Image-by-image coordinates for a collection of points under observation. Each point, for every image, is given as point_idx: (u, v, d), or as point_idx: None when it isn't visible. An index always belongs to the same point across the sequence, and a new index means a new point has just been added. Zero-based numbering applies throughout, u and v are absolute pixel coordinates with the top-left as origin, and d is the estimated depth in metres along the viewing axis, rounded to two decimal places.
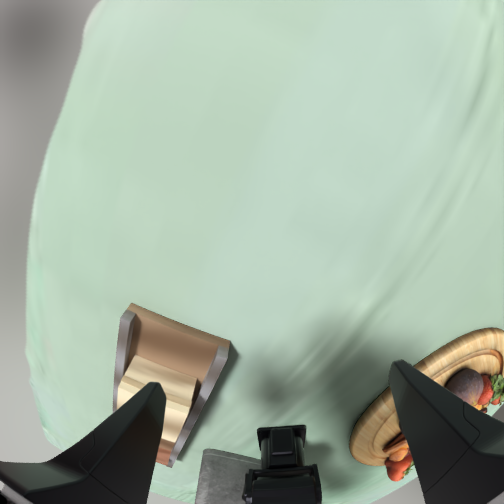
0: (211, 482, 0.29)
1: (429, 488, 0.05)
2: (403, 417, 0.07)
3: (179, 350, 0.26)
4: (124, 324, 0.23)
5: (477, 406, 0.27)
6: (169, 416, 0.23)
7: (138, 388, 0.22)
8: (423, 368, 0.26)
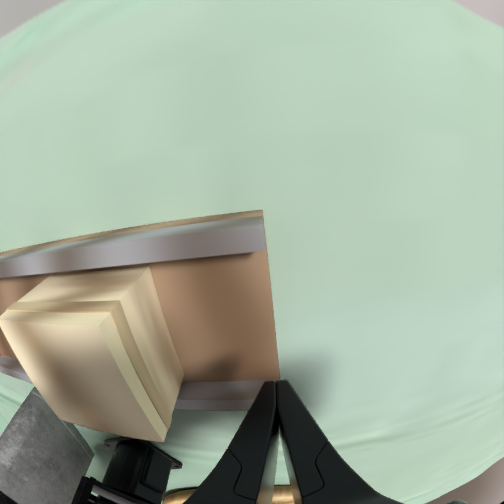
0: (27, 440, 0.14)
1: None
2: (281, 440, 0.08)
3: (226, 337, 0.14)
4: (248, 239, 0.10)
5: None
6: (122, 420, 0.10)
7: (127, 353, 0.09)
8: None
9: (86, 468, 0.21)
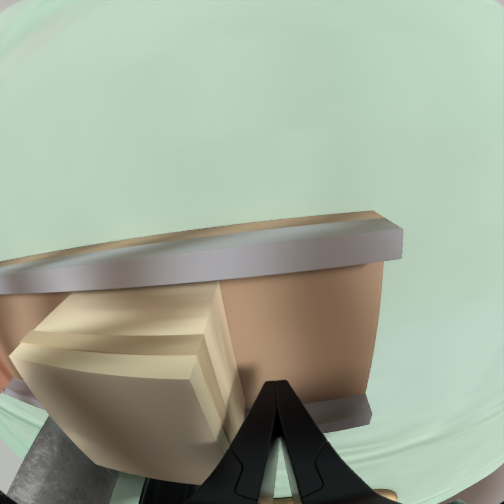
0: (50, 473, 0.12)
1: None
2: (281, 440, 0.08)
3: (322, 357, 0.12)
4: (386, 245, 0.08)
5: None
6: (191, 471, 0.08)
7: (213, 401, 0.07)
8: None
9: (111, 491, 0.19)
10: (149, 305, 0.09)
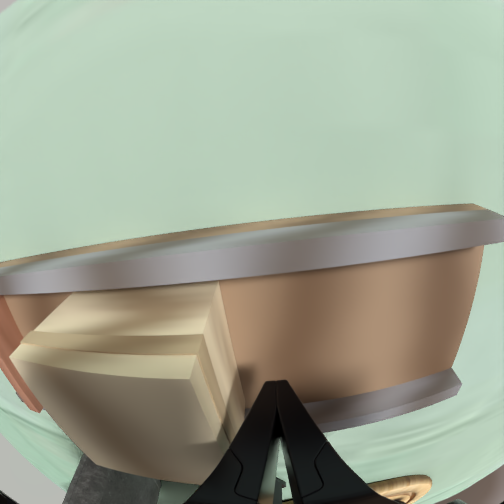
0: (105, 496, 0.11)
1: None
2: (281, 440, 0.08)
3: (432, 333, 0.11)
4: (500, 230, 0.08)
5: None
6: (191, 471, 0.08)
7: (213, 400, 0.07)
8: (407, 483, 0.19)
9: (156, 503, 0.19)
10: (149, 305, 0.09)
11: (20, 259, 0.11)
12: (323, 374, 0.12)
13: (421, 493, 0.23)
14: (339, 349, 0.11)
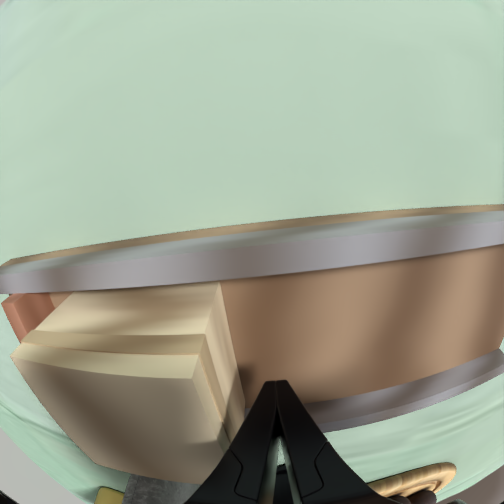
0: None
1: None
2: (281, 440, 0.08)
3: (492, 315, 0.11)
4: None
5: None
6: (191, 471, 0.08)
7: (214, 400, 0.07)
8: (439, 470, 0.19)
9: None
10: (150, 305, 0.09)
11: (76, 248, 0.11)
12: (411, 356, 0.12)
13: (445, 482, 0.22)
14: (428, 331, 0.11)
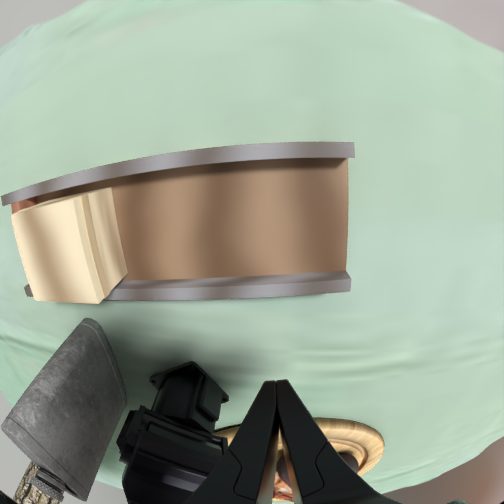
0: (75, 370, 0.19)
1: None
2: (281, 440, 0.08)
3: (314, 229, 0.19)
4: (345, 149, 0.16)
5: None
6: (75, 282, 0.16)
7: (86, 225, 0.15)
8: (351, 427, 0.28)
9: (119, 417, 0.26)
10: (77, 194, 0.17)
11: None
12: (234, 250, 0.20)
13: (374, 454, 0.31)
14: (243, 229, 0.20)
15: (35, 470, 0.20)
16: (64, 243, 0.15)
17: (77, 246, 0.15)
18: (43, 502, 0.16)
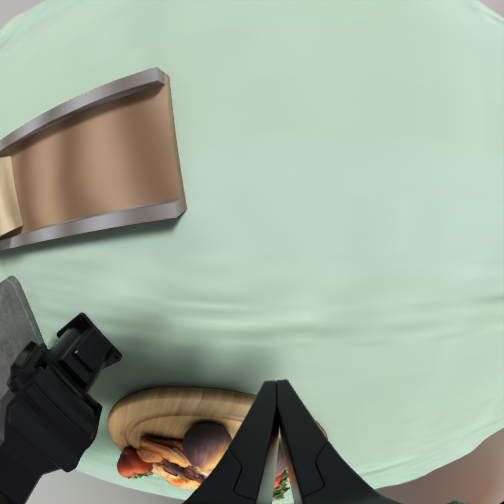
0: None
1: None
2: (281, 440, 0.08)
3: (141, 159, 0.18)
4: (149, 75, 0.14)
5: None
6: None
7: None
8: None
9: None
10: None
11: None
12: (83, 190, 0.19)
13: None
14: (86, 170, 0.18)
15: None
16: None
17: None
18: None
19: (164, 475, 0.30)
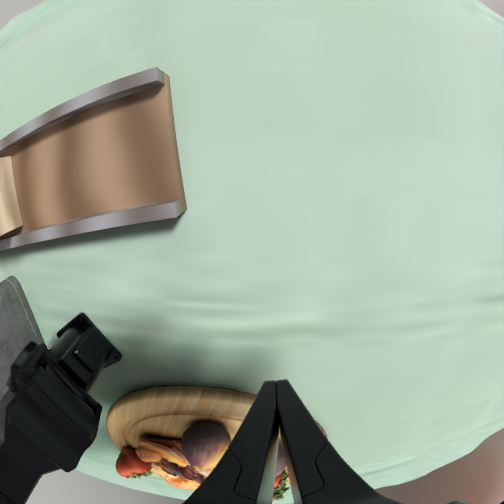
0: None
1: None
2: (281, 440, 0.08)
3: (141, 159, 0.18)
4: (148, 75, 0.14)
5: None
6: None
7: None
8: None
9: None
10: None
11: None
12: (83, 190, 0.19)
13: None
14: (86, 170, 0.18)
15: None
16: None
17: None
18: None
19: (163, 475, 0.30)
